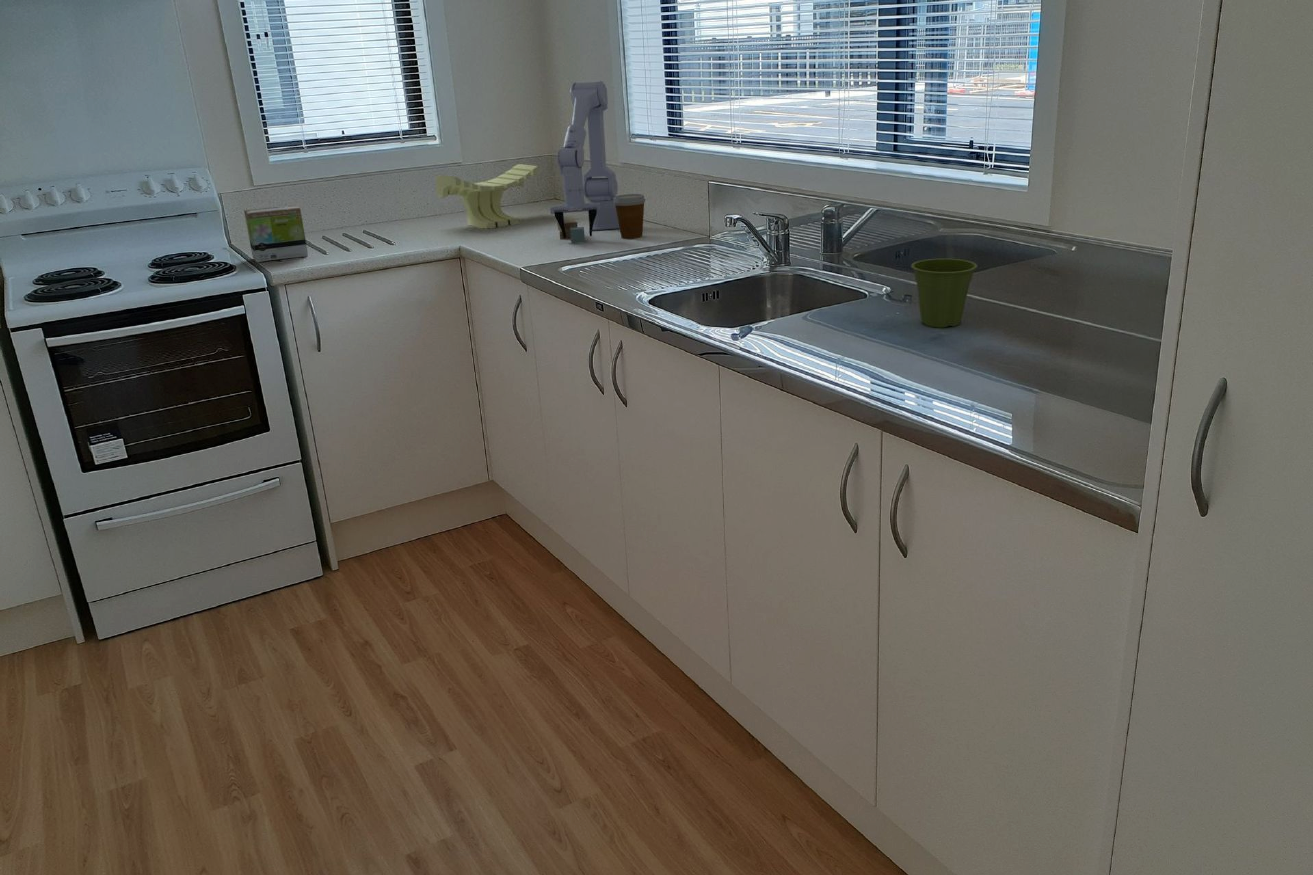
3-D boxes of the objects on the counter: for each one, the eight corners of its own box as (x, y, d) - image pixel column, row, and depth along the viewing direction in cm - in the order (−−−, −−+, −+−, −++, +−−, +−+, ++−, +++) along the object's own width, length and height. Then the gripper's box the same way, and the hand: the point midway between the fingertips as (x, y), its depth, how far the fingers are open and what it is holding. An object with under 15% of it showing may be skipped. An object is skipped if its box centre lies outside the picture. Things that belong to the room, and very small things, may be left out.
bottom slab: (576, 236, 311) (576, 228, 310) (576, 239, 307) (576, 230, 306) (560, 237, 311) (559, 229, 310) (560, 240, 306) (559, 232, 305)
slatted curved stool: (520, 215, 357) (514, 163, 350) (542, 219, 344) (537, 166, 338) (441, 228, 341) (434, 173, 335) (462, 233, 329) (454, 176, 322)
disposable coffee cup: (610, 240, 300) (607, 198, 295) (623, 234, 308) (620, 193, 303) (640, 240, 296) (637, 198, 292) (652, 234, 304) (650, 193, 300)
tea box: (257, 263, 299) (246, 213, 294) (252, 258, 308) (242, 209, 302) (309, 256, 305) (300, 206, 300) (303, 251, 314) (294, 203, 308)
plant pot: (911, 332, 188) (913, 272, 184) (907, 316, 199) (909, 259, 195) (977, 331, 186) (981, 270, 182) (970, 315, 197) (973, 257, 193)
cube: (584, 240, 302) (583, 226, 301) (585, 242, 299) (583, 229, 297) (571, 241, 302) (570, 227, 301) (571, 243, 298) (570, 230, 297)
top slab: (574, 228, 311) (573, 219, 310) (577, 230, 306) (577, 222, 305) (558, 229, 310) (557, 221, 309) (561, 232, 305) (561, 223, 304)
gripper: (548, 193, 291) (553, 241, 296) (598, 190, 291) (602, 237, 296) (549, 190, 297) (553, 236, 302) (598, 187, 298) (602, 233, 303)
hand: (577, 236), depth 300 cm, fingers open, 7 cm apart
